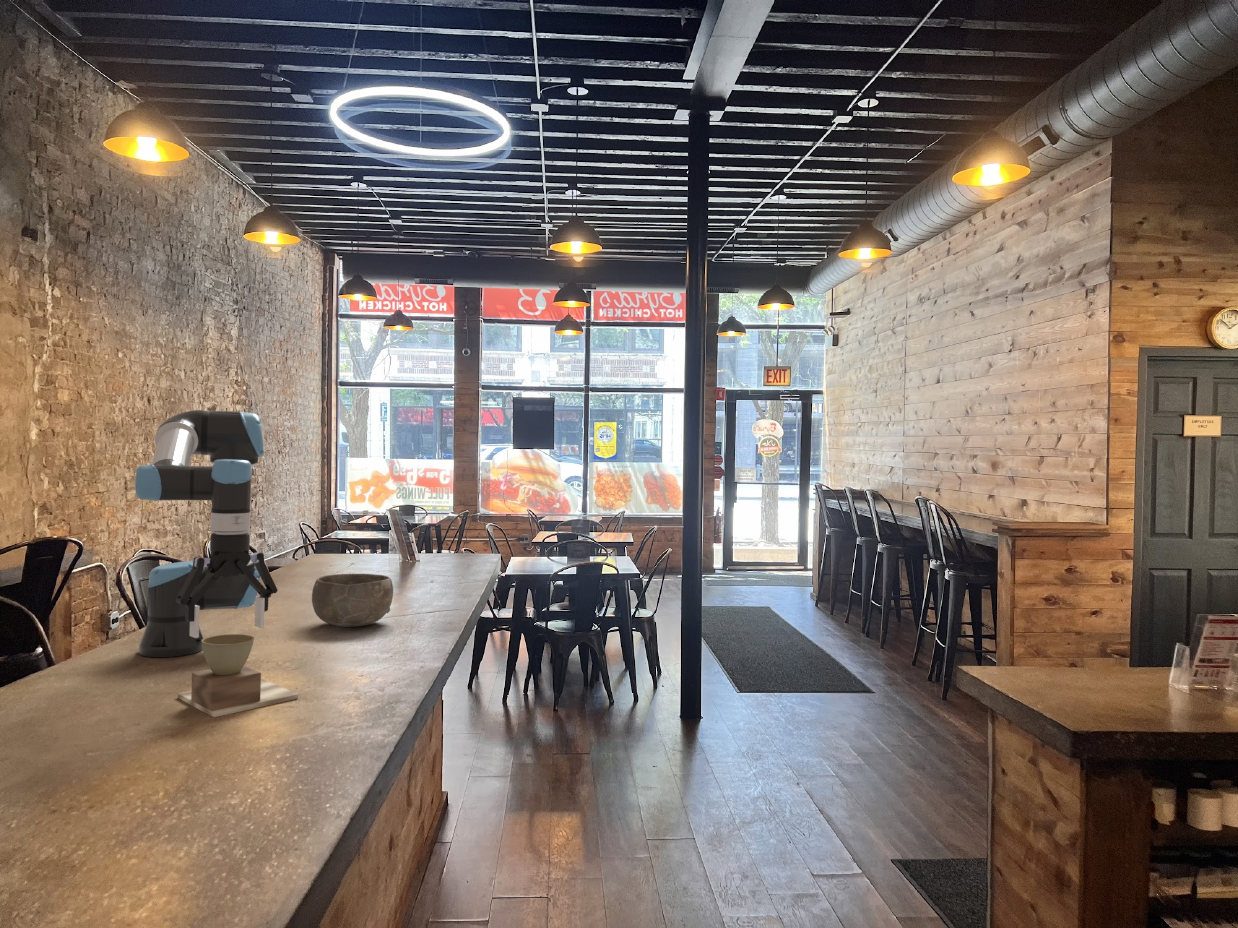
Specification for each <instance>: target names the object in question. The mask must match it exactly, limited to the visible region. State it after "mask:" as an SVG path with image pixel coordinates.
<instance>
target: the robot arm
mask: <svg viewBox="0 0 1238 928" xmlns="http://www.w3.org/2000/svg"><path fill="white" fill-rule="evenodd" d="M262 430H263V429H262V422H261V418H260V416H259V415H258V414H256V413H253V412H247V411H246V412H245V411H237V410H236V411H235V410H234V411H233V410H232V411H230V410H229V411H228V410H203V409H195V410H194V409H193V410H188V411H184V412H181V413H178V414H175V415H173V416H171V417H169V418H168V419H166V420H165V421H163V422H162V423H161V424H160V426H159V427H158V428H157V430H156V431H155V435H154V444H155V447H156V448H155V452H154V455H153V458H152V461H151V464H144V465H143V464H141V465H139V466H138V467H137V469H136V470H135V480H134V481H135V482H134V484H135V486H134V487H135V489H134V490H135V496H136V497H137V499H138V500H145V501H153V502H158V501H211V509H210V511H211V512H210V531H211V532H213V533H211V534H210V538H209V539H210V540H209V546H210V547H209V553H210V554H209V556H208V557H200V556H195V557H194V558H193V559H192V560H190V561H186V560H185V561H177V562H173V563H172V562H171V563H167V564H162V565H159V566H156V567H154V568H151V570H150V572H149V575H148V584H147V588H148V597H147V598H148V600H147V601H148V602H147V603H148V604H147V624H146V626H145V629H144V631H143V634H142V637H141V639H140V642H139V646H138V654H139V655H141V656H144V657H148V658H172V657H180V656H181V657H182V656H187V655H192V654H195V653H198V652H202V651H203V648H202V640H203V639H204V638H205V637H204V635H203V632H202V630H201V627H200V611H209V610H211V611H212V610H231V609H234V610H238V609H243V608H250V607H252V606H253V605H255V606H254V627H256V628H258V629H264V627H265V612H268V610H269V598H271V596H272V595H273V594H277V592H278V588H277V585H276V583H275V581H274V579H273V577H272V576H271V573H270V571H269V569H268V567H267V566H266V563H265V555H264V553H263V552H259V551H254V552H253V553H250V539H251V511H252V510H251V509H252V506H251V504H252V503H251V501H252V477H253V468H254V467H256V466H257V465H258V464H259V458H261V457H264V456H265V451H264V442H263V441H264V439H263V431H262ZM192 455H199V456H201V455H202V456H209V458H210V459H209V462H210V464H212V466H211V465H210V466H209V465H208V466H202V465H199V466H198V465H197V466H196V465H191V460H192ZM260 578H261V581H262V582H263V584H264V585H263V584H262V583H261V582H260ZM257 595H258V596H257Z"/></svg>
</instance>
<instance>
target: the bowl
mask: <svg viewBox="0 0 1238 928" xmlns="http://www.w3.org/2000/svg"><path fill="white" fill-rule="evenodd" d="M393 597H394V584H393V580H392V578H391V577H390V576H388V575H383V574H376V573H375V574H373V573H341V574H330V575H329V574H328V575H323V576H320V577H317V579H316V580H315V582H314V584H313V587H312V592H311V602H312V608H313V610H314V611H313V612H314V613H315V615H316V617H318V618H319V619H320V620H321V621H322V622H324V623H326V624H329V625H331V626H336V627H342V628H343V627H344V628H345V627H348V628H349V627H350V628H351V627H363V626H368V625H371V624H375V623H377V622H378V621H380V620H382V619H383V617H384V616H386V614H389V613H390V611H391V605H392V603H393Z"/></svg>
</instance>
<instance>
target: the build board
mask: <svg viewBox="0 0 1238 928" xmlns="http://www.w3.org/2000/svg"><path fill="white" fill-rule="evenodd" d="M191 692H192V690H189V691H188V690H187V691H183V692H178V693H177V699H179V700H181V701H183V702H184V703H186V704H188V705H190V706H192V707H194V708H196V709H197V710H199V711H201V712H202V713H205V714H206V715H209V716H211V717H212V718H217V717H221V716H222V717H223V716H226V715H231V714H235V713H240V712H243V711H244V712H245V711H249V710H252V709H253V710H254V709H258V708H262V707H267V706H271V705H275V704H280V703H286V702H289V701H294V700H298V699H299V693H297V692H294V691H292V690H289V689H288V688H285V687H283V686H280V685H279V684H275V683H273V682H271V681H268V680H266V679H264V678H262V677H261V690H260V701H257V702H253V703H248V704H244V705H239V706H234V707H230V708H225V709H220V710H216V711H210V710H208V709H206V708H205V707H203V706H201V705H199V704H197V703H195V702H193V701H191Z"/></svg>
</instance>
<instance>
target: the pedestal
mask: <svg viewBox="0 0 1238 928" xmlns="http://www.w3.org/2000/svg"><path fill="white" fill-rule="evenodd" d="M261 678H262V672H259V671H258V670H255V669H252V668H250V667H248V666H247V665H246V666H245V665H244V666H243V668H242V669H241V671H240V672H239V673H236V674H232V675H216V674H214V673H213V672H212V670H211V669H210V668H208V669H203V670H197V671H193V672H191V691H192V692H191V701H193V702H195V703H197V704H199V705H201V706H203V707H205V708H206V709H208V710H210V711H216V710H220V709H225V708H230V707H234V706H239V705H244V704H248V703H253V702H257V701H260V690H261Z"/></svg>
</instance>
